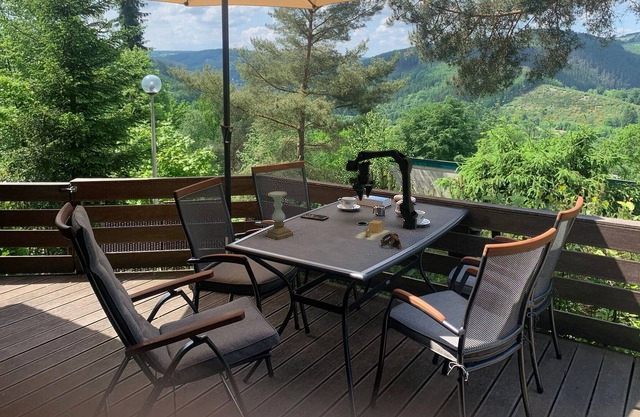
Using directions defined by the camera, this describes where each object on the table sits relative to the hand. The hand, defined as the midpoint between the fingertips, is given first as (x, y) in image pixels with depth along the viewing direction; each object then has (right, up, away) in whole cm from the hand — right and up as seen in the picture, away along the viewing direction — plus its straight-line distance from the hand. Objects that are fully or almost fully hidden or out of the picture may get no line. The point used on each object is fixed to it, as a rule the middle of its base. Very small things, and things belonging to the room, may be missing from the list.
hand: (364, 199), depth 279 cm
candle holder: (-48, -20, -16) cm, 54 cm away
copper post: (0, -20, -25) cm, 32 cm away
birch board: (+2, -20, -20) cm, 29 cm away
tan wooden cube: (+5, -18, -16) cm, 25 cm away
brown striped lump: (+10, -25, -40) cm, 48 cm away
